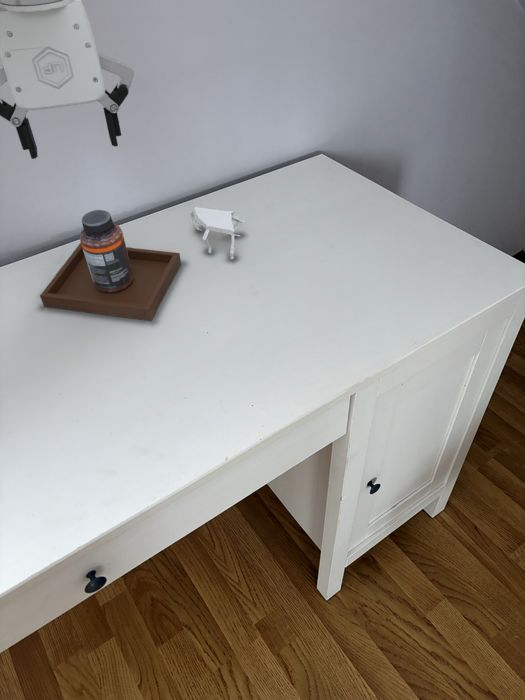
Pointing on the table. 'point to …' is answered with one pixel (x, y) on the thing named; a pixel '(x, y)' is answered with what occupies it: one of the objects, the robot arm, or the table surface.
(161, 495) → the table surface
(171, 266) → the serving tray
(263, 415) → the table surface
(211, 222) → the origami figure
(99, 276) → the supplement bottle
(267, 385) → the table surface
